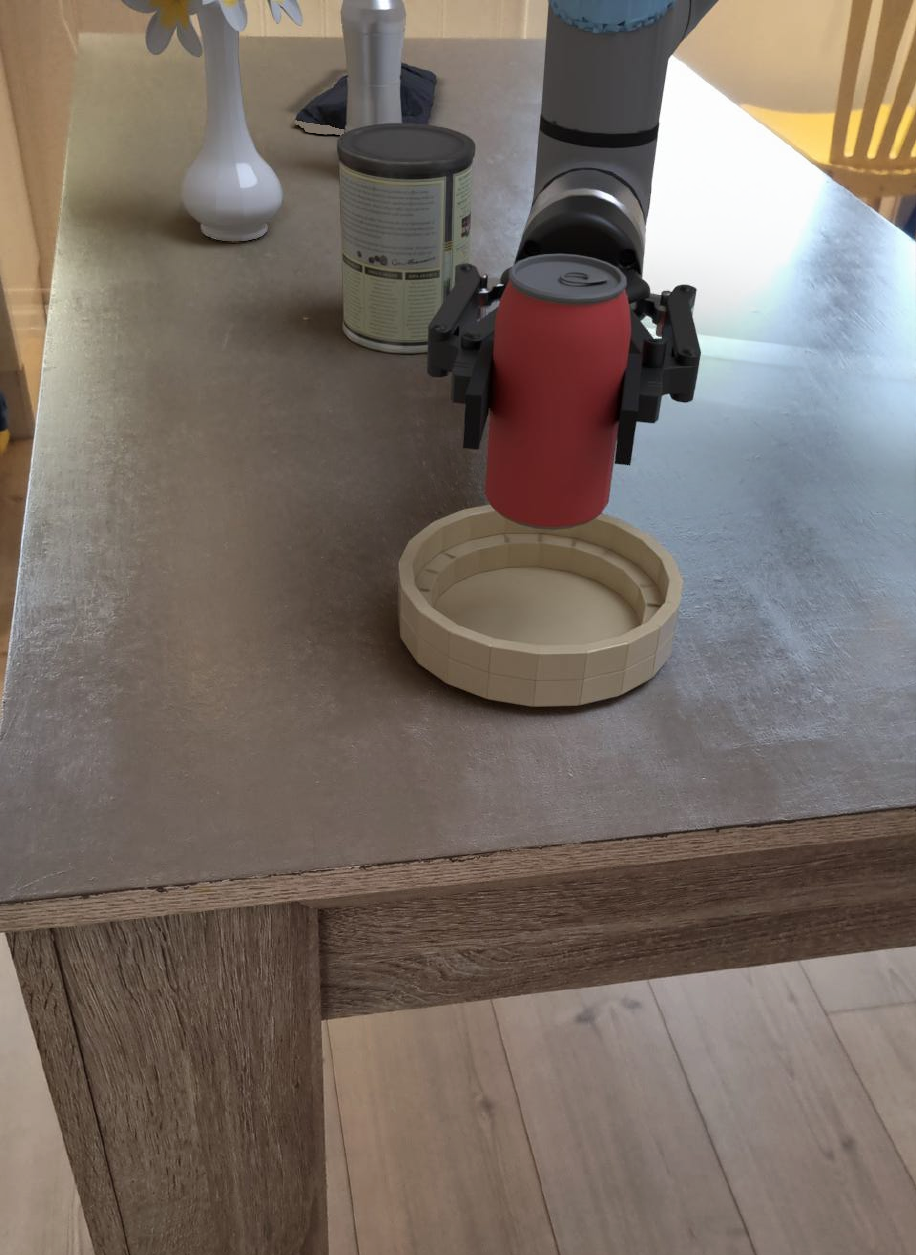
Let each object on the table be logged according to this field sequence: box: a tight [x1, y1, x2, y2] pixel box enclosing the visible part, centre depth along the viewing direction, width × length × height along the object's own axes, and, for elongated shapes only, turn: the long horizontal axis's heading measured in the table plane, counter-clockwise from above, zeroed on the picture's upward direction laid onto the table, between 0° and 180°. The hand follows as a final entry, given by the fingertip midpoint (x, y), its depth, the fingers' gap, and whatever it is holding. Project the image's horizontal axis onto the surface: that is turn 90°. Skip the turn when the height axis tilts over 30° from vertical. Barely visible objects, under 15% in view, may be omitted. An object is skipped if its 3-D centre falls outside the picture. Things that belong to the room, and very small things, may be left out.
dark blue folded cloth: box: [294, 61, 438, 130], centre depth 152 cm, size 15×22×5 cm
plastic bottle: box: [339, 0, 407, 133], centre depth 129 cm, size 6×7×20 cm
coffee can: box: [336, 123, 476, 355], centre depth 102 cm, size 10×10×14 cm
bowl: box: [397, 504, 685, 708], centre depth 73 cm, size 16×16×4 cm
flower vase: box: [120, 0, 304, 243], centre depth 113 cm, size 13×18×25 cm
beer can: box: [484, 254, 631, 530], centre depth 65 cm, size 7×7×12 cm
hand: (548, 430), depth 61 cm, fingers closed on beer can, 6 cm apart
